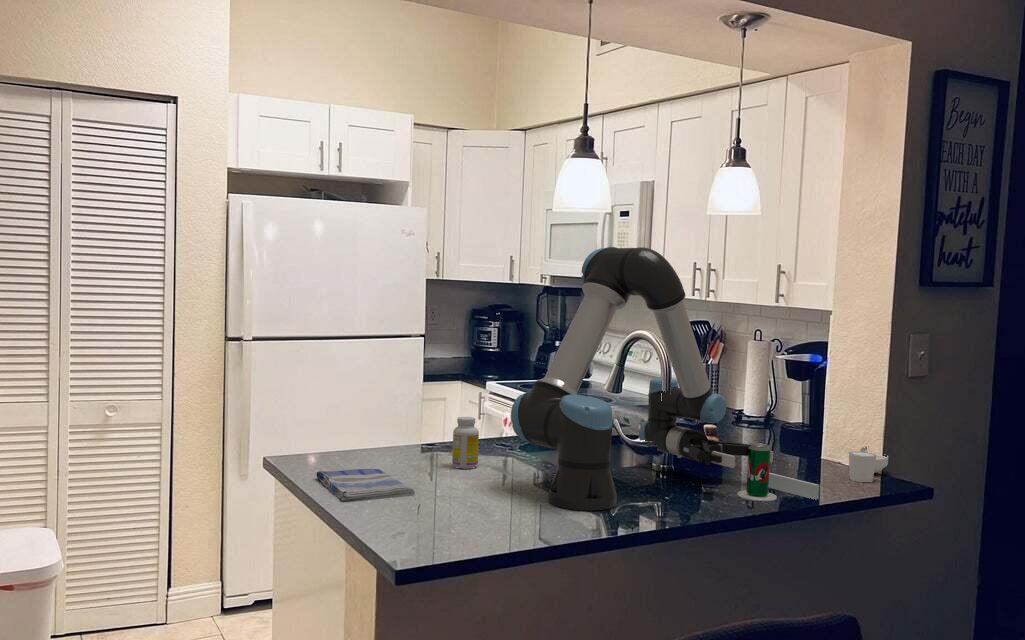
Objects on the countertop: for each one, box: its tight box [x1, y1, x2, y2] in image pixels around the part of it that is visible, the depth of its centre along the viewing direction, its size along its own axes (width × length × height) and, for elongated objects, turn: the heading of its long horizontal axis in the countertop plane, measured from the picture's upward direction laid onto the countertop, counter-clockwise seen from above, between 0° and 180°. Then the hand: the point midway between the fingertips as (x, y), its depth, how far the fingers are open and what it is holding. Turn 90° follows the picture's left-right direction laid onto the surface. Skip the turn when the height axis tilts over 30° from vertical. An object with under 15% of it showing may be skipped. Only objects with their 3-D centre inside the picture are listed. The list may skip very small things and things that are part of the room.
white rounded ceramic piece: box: [847, 446, 889, 474], centre depth 240 cm, size 10×12×7 cm
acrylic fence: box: [769, 472, 820, 501], centre depth 214 cm, size 18×1×4 cm, turn 36°
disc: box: [737, 489, 778, 503], centre depth 208 cm, size 9×9×1 cm
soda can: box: [745, 442, 772, 497], centre depth 208 cm, size 5×5×12 cm
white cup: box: [848, 451, 877, 483], centre depth 230 cm, size 7×7×7 cm
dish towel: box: [316, 468, 416, 502], centre depth 203 cm, size 17×24×3 cm
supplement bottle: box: [451, 416, 480, 469], centre depth 228 cm, size 7×7×13 cm
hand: (753, 459), depth 209 cm, fingers open, 13 cm apart
